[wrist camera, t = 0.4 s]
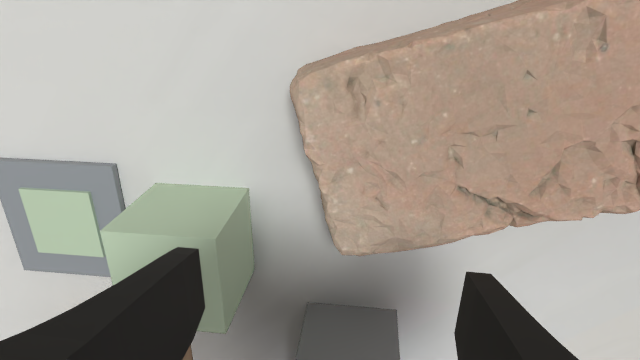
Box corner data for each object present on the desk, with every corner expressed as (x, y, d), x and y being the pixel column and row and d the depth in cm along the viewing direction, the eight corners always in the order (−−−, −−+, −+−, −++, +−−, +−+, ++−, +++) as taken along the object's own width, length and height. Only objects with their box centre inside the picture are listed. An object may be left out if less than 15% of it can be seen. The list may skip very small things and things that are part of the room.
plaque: (138, 275, 25) (133, 281, 24) (29, 265, 25) (21, 271, 25) (115, 163, 22) (109, 168, 21) (-7, 157, 23) (-16, 161, 22)
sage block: (255, 268, 24) (226, 333, 19) (170, 261, 24) (122, 323, 20) (249, 187, 22) (215, 239, 17) (156, 182, 22) (99, 230, 18)
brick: (341, 221, 22) (333, 275, 18) (292, 62, 19) (269, 81, 15) (705, 148, 18) (806, 194, 14) (715, -62, 15) (848, -84, 11)
